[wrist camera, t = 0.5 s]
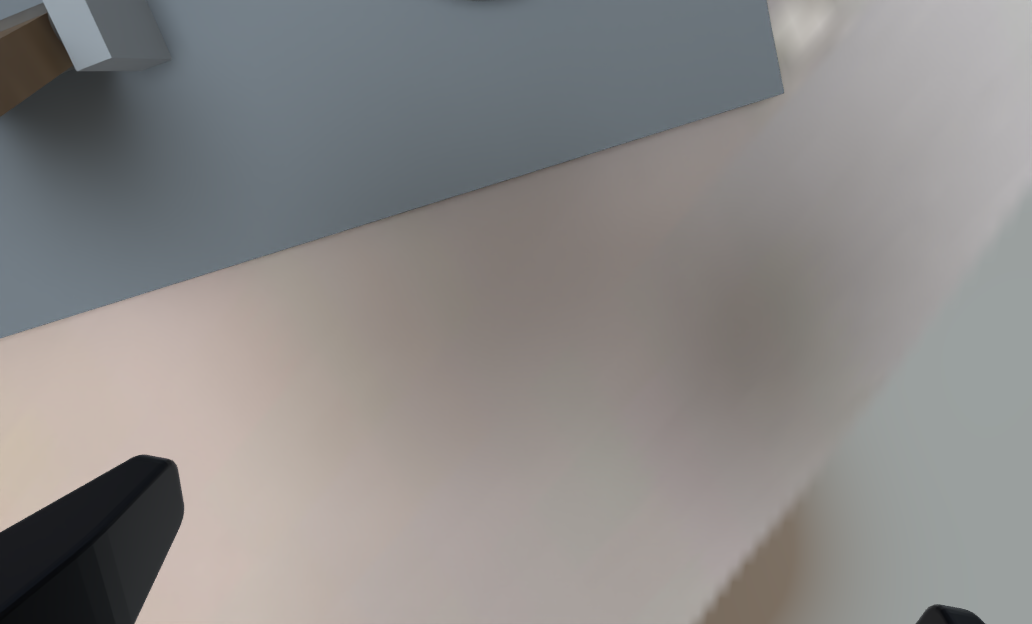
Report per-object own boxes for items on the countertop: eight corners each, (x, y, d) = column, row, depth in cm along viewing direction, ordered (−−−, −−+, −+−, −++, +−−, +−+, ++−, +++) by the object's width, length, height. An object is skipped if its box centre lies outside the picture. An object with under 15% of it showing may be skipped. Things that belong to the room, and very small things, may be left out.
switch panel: (769, 91, 19) (816, 96, 15) (-258, 414, 26) (-404, 474, 22) (641, -545, 15) (662, -752, 11) (-533, 31, 22) (-769, 23, 18)
